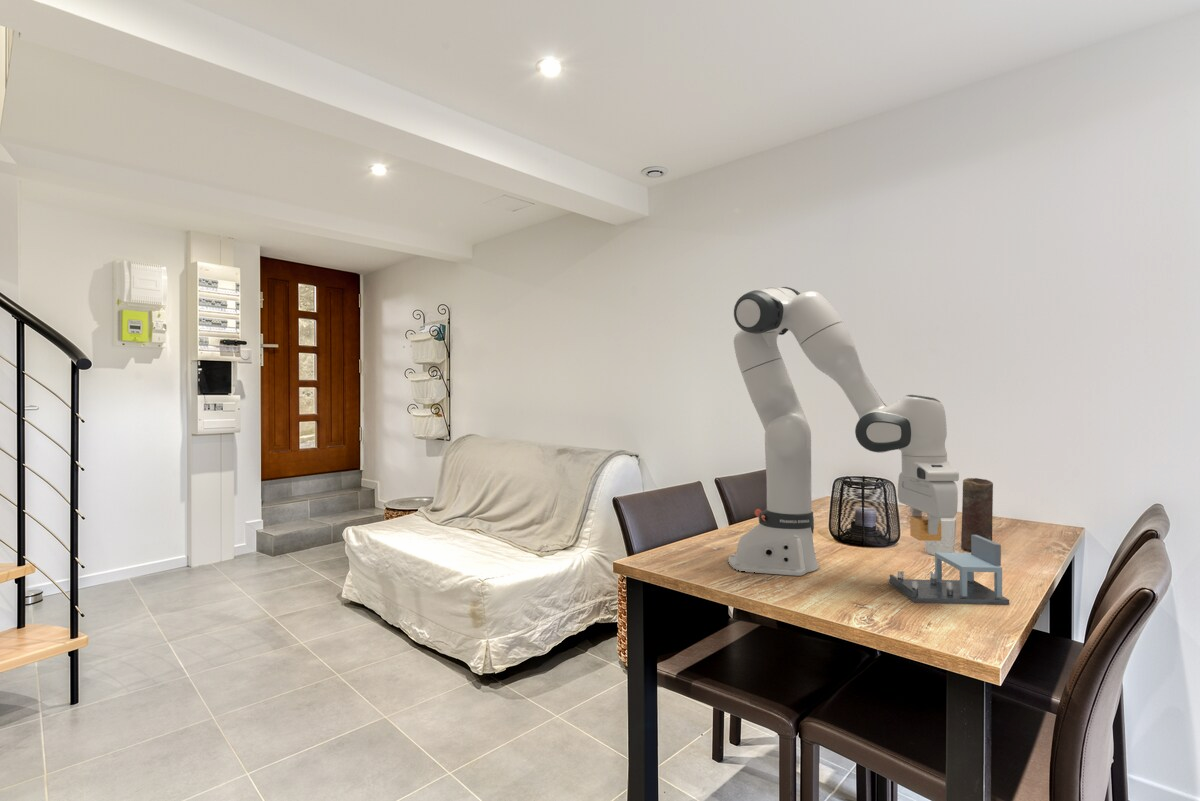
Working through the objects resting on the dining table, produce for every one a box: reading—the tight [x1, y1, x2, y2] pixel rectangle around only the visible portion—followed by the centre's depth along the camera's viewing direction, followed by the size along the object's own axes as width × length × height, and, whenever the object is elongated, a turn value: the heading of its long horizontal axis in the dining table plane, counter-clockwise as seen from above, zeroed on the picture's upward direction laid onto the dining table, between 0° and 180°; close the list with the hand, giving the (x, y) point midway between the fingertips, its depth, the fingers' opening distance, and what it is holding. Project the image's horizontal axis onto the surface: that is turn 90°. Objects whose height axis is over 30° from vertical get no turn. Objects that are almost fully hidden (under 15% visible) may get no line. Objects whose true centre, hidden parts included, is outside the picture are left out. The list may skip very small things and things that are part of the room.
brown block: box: [909, 515, 941, 542], centre depth 129 cm, size 4×4×4 cm
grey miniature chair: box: [934, 535, 1003, 597], centre depth 128 cm, size 8×12×11 cm
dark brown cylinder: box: [960, 477, 994, 551], centre depth 164 cm, size 8×7×20 cm
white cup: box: [924, 514, 957, 556], centre depth 161 cm, size 8×8×10 cm
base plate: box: [888, 570, 1010, 606], centre depth 129 cm, size 19×13×4 cm
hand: (925, 530), depth 129 cm, fingers closed on brown block, 4 cm apart
